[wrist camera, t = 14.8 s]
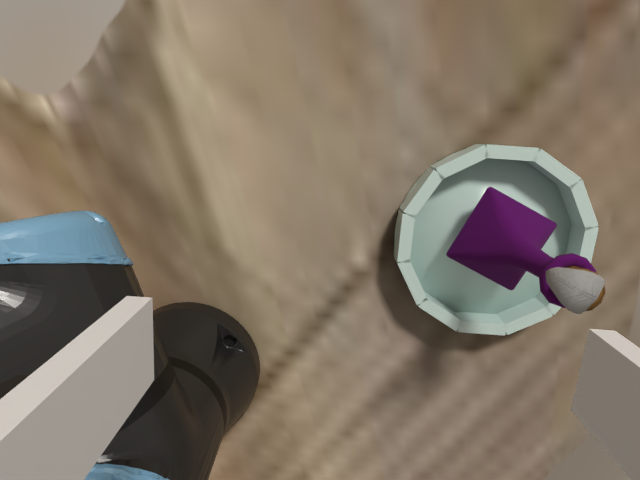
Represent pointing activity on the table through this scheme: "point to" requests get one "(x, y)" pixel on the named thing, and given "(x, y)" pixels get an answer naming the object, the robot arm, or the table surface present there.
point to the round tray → (452, 213)
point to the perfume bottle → (524, 253)
